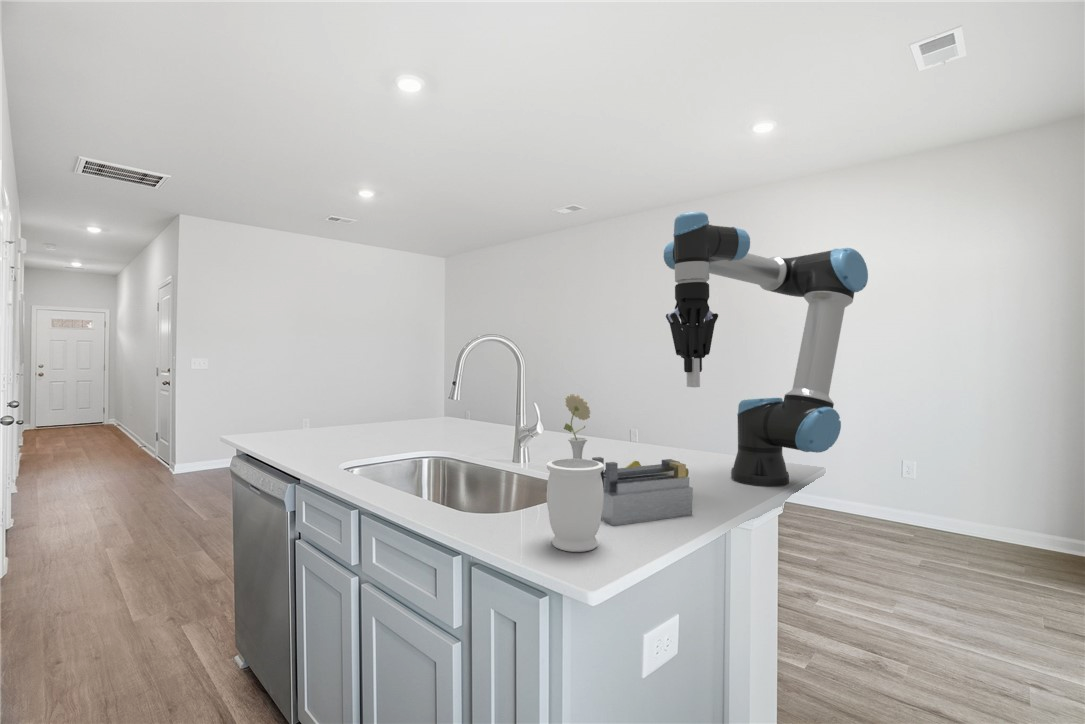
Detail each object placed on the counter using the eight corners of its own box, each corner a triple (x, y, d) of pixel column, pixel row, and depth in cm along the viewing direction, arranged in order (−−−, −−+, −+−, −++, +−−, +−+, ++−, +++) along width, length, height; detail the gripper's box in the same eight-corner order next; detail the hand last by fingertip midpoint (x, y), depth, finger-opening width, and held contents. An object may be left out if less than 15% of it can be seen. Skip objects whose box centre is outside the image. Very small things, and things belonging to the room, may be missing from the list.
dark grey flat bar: (612, 477, 115) (612, 468, 115) (604, 474, 118) (604, 465, 118) (679, 470, 122) (679, 461, 122) (670, 467, 125) (670, 459, 125)
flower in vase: (607, 497, 132) (608, 395, 132) (564, 501, 128) (565, 396, 128) (586, 485, 144) (586, 392, 144) (546, 488, 140) (546, 393, 140)
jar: (615, 548, 96) (615, 465, 96) (568, 559, 91) (569, 471, 91) (580, 531, 105) (580, 455, 105) (535, 541, 100) (535, 461, 100)
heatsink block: (655, 499, 130) (655, 449, 130) (692, 515, 117) (692, 460, 117) (581, 507, 122) (581, 455, 122) (612, 525, 109) (612, 467, 109)
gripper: (704, 285, 127) (706, 384, 128) (657, 284, 122) (659, 387, 123) (726, 281, 120) (727, 386, 121) (677, 279, 115) (679, 389, 116)
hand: (693, 386), depth 122 cm, fingers closed
